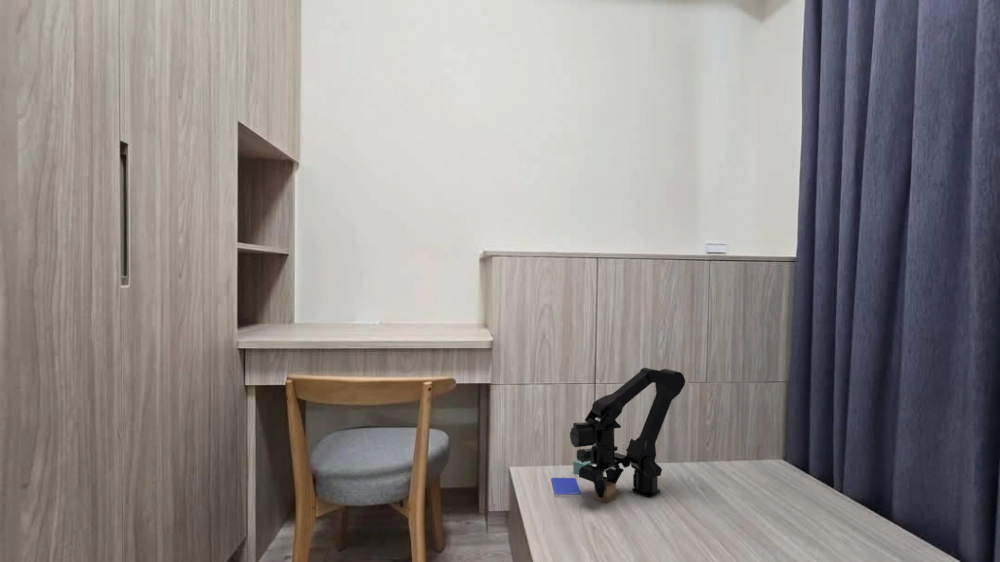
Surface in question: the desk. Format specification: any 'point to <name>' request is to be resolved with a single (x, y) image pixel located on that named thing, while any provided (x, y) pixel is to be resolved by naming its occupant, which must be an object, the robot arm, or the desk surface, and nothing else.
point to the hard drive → (565, 487)
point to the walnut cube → (607, 493)
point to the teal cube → (579, 465)
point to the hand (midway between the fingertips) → (605, 495)
